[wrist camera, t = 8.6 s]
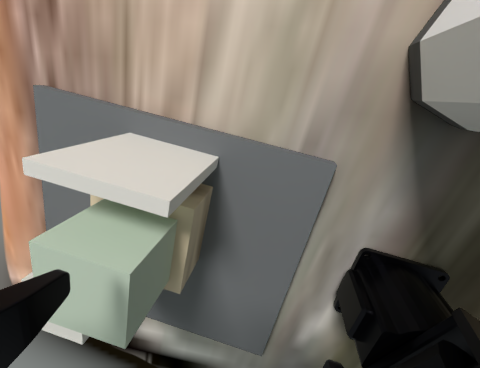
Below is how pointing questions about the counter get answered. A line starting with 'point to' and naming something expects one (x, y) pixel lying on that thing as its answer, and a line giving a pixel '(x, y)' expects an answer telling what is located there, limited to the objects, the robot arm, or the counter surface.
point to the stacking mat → (174, 194)
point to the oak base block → (185, 235)
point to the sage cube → (107, 267)
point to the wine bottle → (449, 64)
